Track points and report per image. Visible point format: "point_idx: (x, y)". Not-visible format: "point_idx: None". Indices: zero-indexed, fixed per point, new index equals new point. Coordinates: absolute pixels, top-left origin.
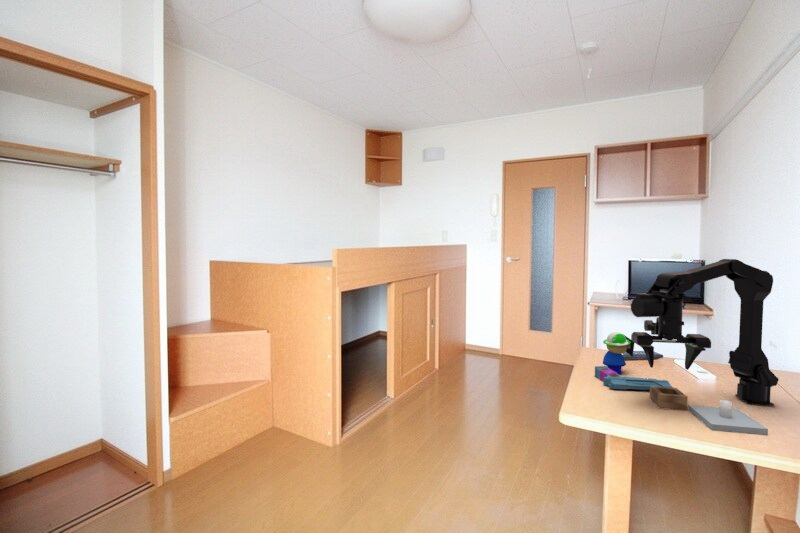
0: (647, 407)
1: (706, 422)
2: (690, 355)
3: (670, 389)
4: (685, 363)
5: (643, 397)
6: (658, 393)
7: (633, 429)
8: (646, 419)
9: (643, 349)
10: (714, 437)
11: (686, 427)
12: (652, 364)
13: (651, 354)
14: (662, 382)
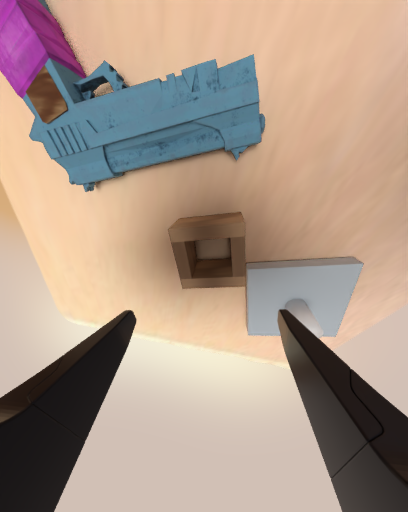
0: (168, 270)
1: (247, 320)
2: (326, 447)
3: (222, 237)
4: (288, 335)
5: (165, 213)
6: (181, 280)
7: (144, 339)
8: (161, 313)
9: (4, 401)
10: (239, 342)
11: (212, 325)
12: (126, 340)
13: (83, 422)
14: (231, 114)
